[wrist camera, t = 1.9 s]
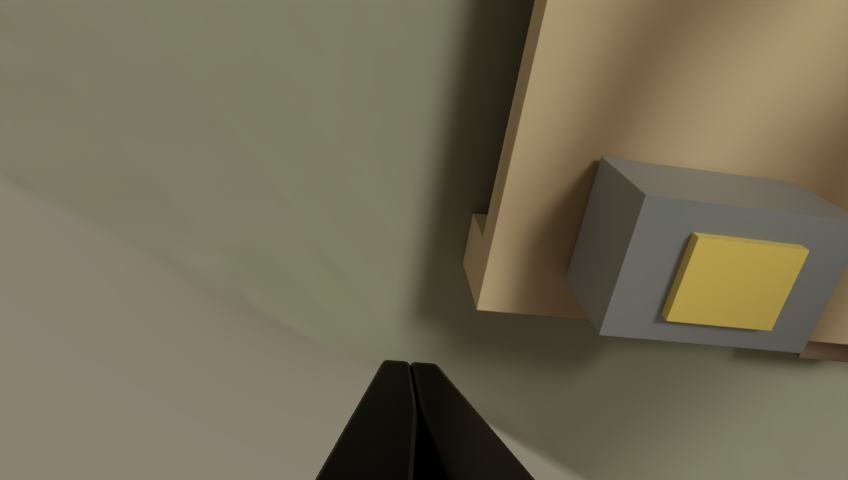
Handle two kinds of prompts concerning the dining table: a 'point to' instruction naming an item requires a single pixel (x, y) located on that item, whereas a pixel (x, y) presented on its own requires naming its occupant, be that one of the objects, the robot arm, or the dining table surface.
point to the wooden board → (659, 127)
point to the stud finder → (706, 257)
